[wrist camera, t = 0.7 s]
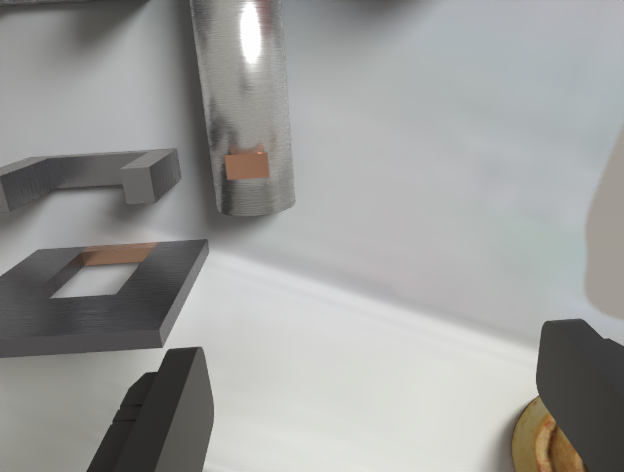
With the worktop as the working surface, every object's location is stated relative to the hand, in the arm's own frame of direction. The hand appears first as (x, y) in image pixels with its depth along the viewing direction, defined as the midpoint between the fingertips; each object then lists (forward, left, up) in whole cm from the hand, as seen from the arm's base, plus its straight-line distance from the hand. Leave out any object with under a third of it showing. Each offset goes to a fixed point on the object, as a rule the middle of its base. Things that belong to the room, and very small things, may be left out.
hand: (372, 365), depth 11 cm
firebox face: (+5, -15, -22) cm, 27 cm away
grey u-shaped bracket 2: (-1, -15, -22) cm, 26 cm away
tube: (-7, -5, -22) cm, 24 cm away
